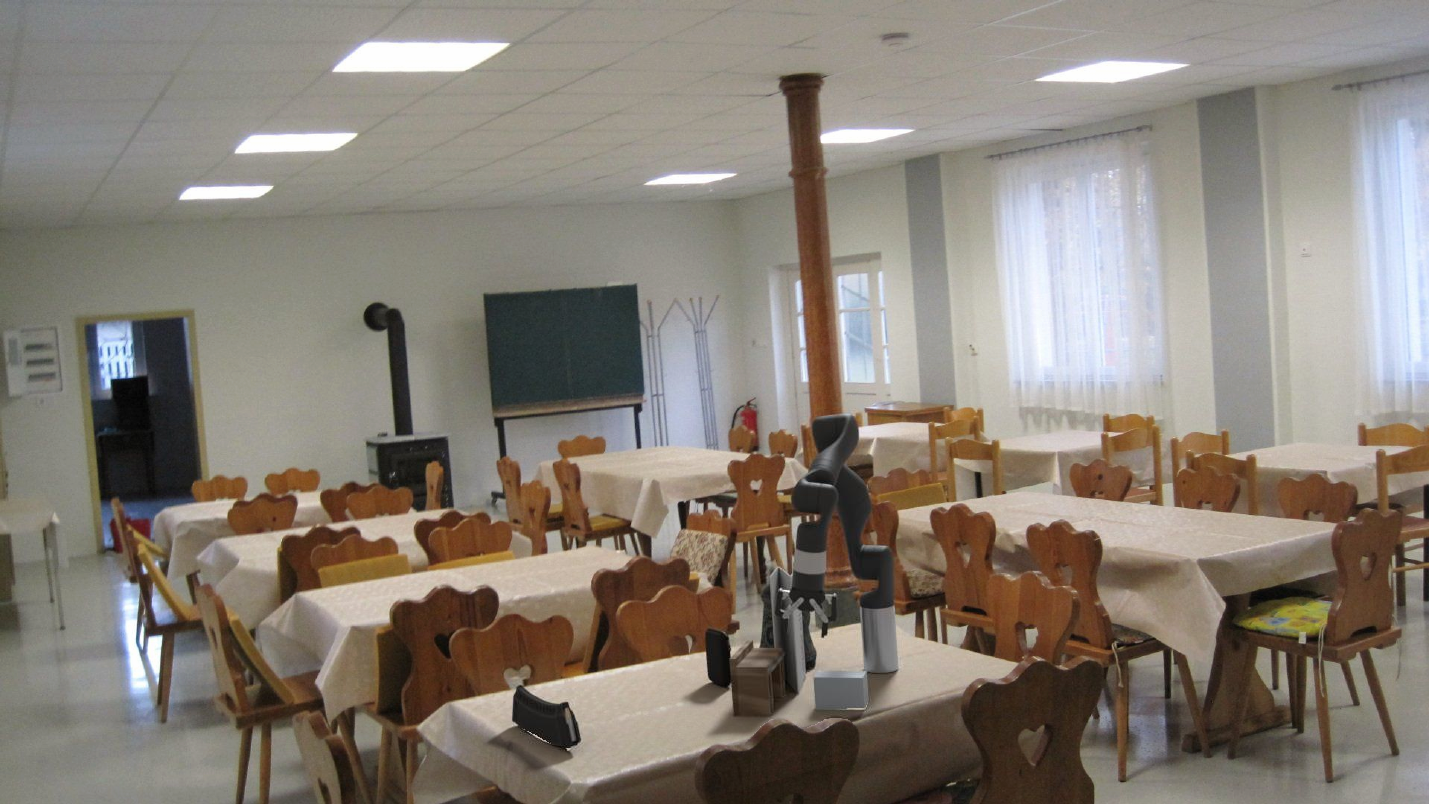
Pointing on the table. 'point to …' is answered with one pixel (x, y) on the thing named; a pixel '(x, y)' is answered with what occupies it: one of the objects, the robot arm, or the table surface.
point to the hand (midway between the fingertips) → (804, 635)
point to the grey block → (840, 690)
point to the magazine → (545, 718)
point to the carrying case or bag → (718, 657)
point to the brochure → (794, 638)
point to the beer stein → (768, 635)
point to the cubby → (756, 680)
